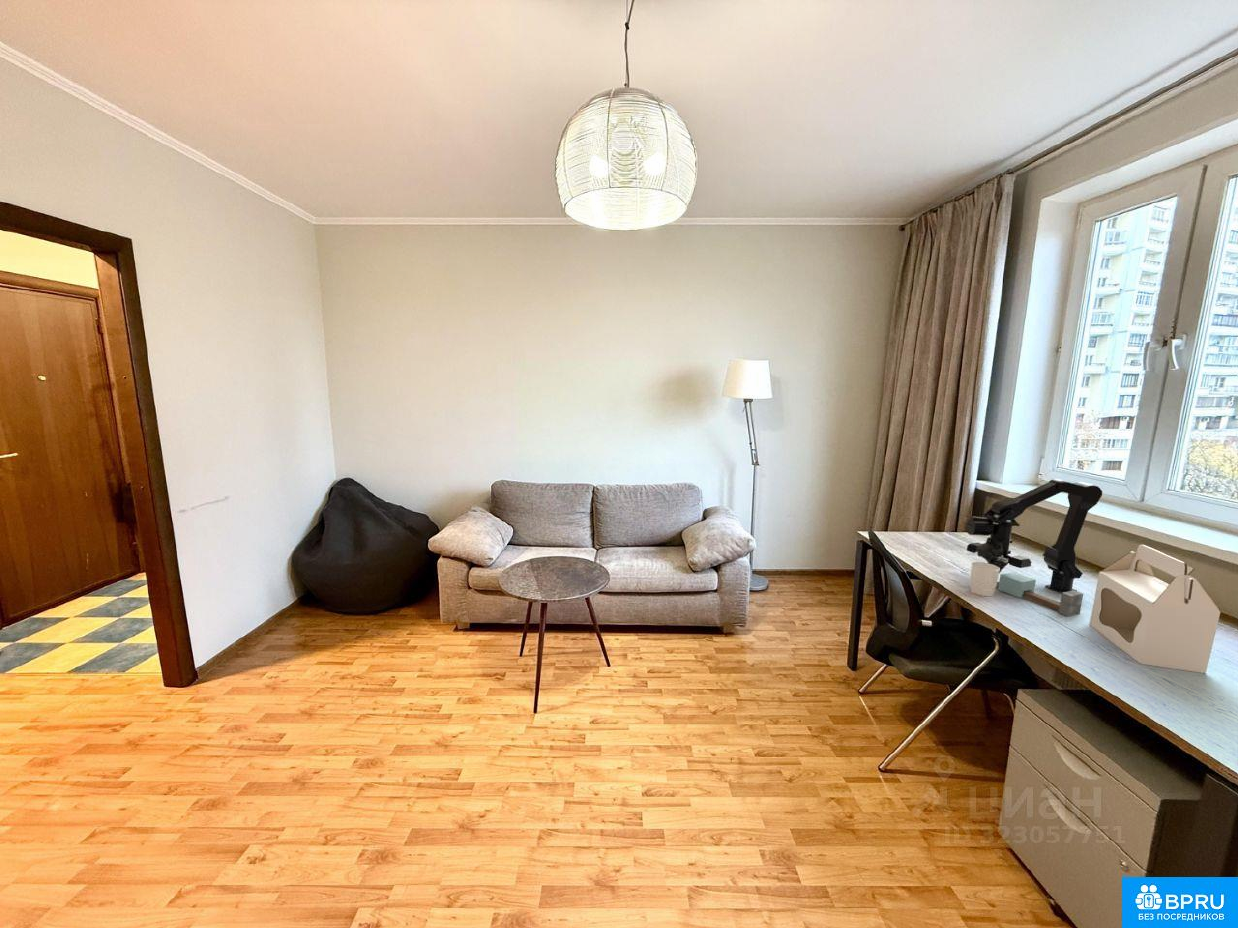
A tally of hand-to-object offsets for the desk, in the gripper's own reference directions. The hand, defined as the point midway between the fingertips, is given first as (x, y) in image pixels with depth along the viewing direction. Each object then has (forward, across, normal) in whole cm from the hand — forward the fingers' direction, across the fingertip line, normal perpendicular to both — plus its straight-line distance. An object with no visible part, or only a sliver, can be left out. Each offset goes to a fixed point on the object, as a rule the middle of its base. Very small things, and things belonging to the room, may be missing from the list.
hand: (994, 576), depth 173 cm
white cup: (+3, +4, -11) cm, 12 cm away
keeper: (+3, +8, 0) cm, 8 cm away
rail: (+3, +13, 0) cm, 14 cm away
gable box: (+3, +42, -4) cm, 43 cm away
